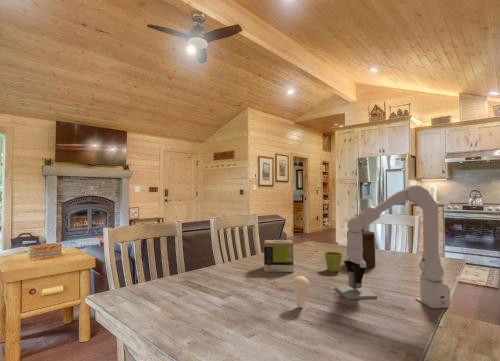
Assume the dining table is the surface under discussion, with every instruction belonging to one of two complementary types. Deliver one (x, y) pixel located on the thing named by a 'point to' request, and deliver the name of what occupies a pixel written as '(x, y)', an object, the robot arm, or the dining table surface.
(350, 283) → the tube
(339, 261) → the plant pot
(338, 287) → the shaft plate
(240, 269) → the dining table surface
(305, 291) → the lightbulb
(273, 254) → the tea box
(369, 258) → the wooden container
